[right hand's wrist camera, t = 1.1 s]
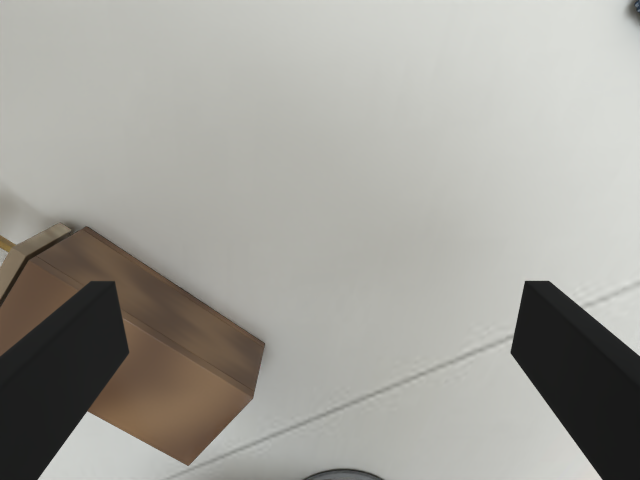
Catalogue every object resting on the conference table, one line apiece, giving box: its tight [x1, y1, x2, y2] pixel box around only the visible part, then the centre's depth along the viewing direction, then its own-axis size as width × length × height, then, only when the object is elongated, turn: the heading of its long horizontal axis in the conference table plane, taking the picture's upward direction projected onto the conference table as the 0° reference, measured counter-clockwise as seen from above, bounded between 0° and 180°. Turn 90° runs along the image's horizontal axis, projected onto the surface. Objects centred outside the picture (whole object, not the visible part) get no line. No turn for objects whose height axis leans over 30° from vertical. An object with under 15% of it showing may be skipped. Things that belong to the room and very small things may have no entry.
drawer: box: [0, 223, 71, 307], centre depth 36 cm, size 26×9×6 cm, turn 51°
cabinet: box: [0, 227, 265, 466], centre depth 37 cm, size 21×10×8 cm, turn 51°
